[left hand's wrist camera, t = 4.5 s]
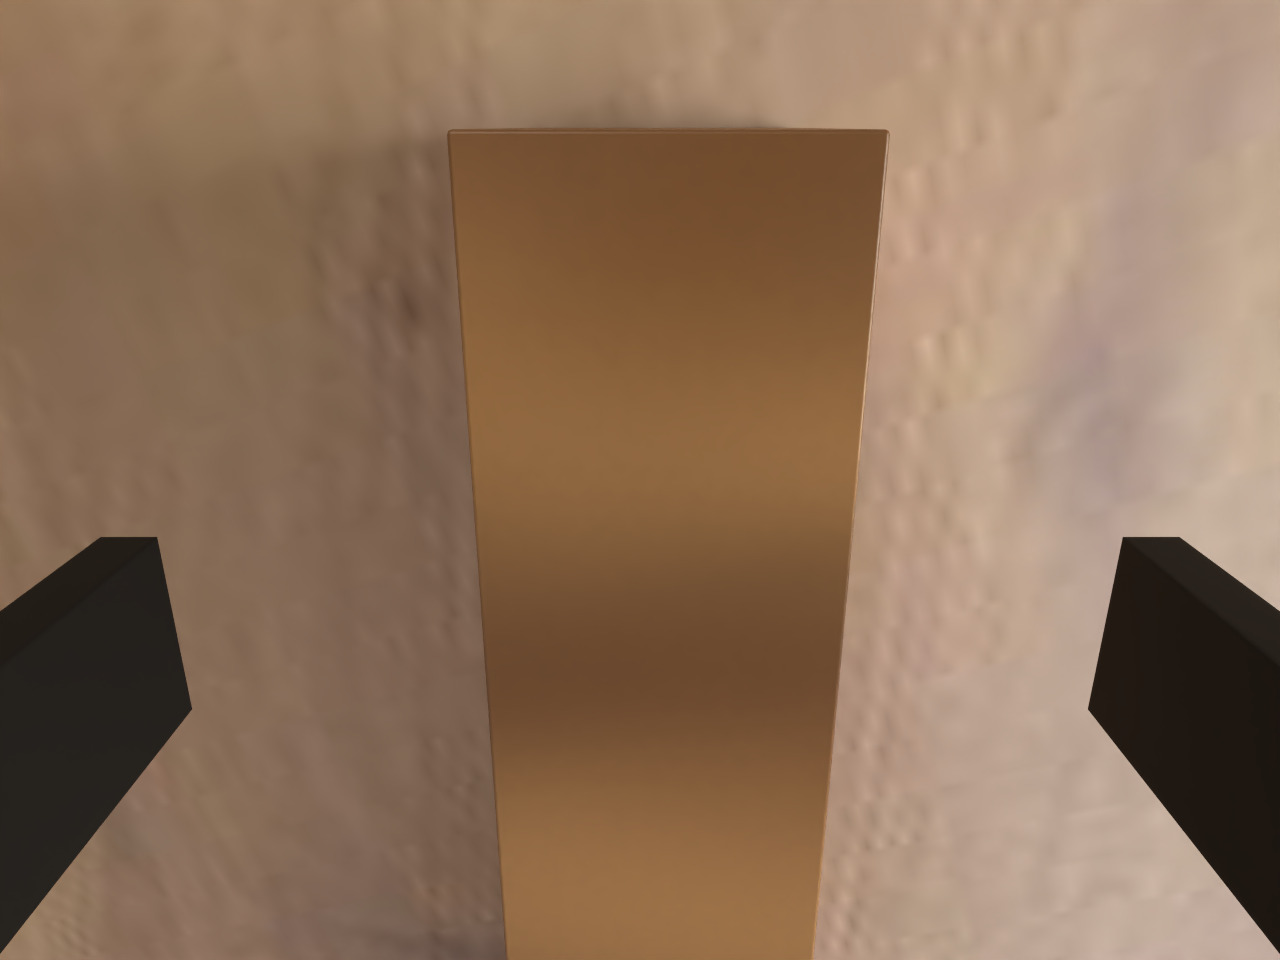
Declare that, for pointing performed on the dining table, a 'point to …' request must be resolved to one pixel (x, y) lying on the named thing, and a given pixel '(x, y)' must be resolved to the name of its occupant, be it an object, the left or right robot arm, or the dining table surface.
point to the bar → (664, 518)
